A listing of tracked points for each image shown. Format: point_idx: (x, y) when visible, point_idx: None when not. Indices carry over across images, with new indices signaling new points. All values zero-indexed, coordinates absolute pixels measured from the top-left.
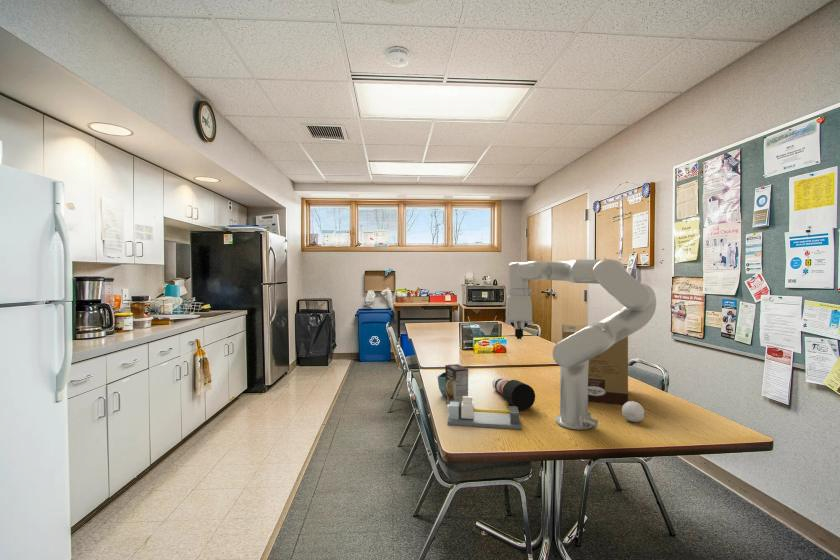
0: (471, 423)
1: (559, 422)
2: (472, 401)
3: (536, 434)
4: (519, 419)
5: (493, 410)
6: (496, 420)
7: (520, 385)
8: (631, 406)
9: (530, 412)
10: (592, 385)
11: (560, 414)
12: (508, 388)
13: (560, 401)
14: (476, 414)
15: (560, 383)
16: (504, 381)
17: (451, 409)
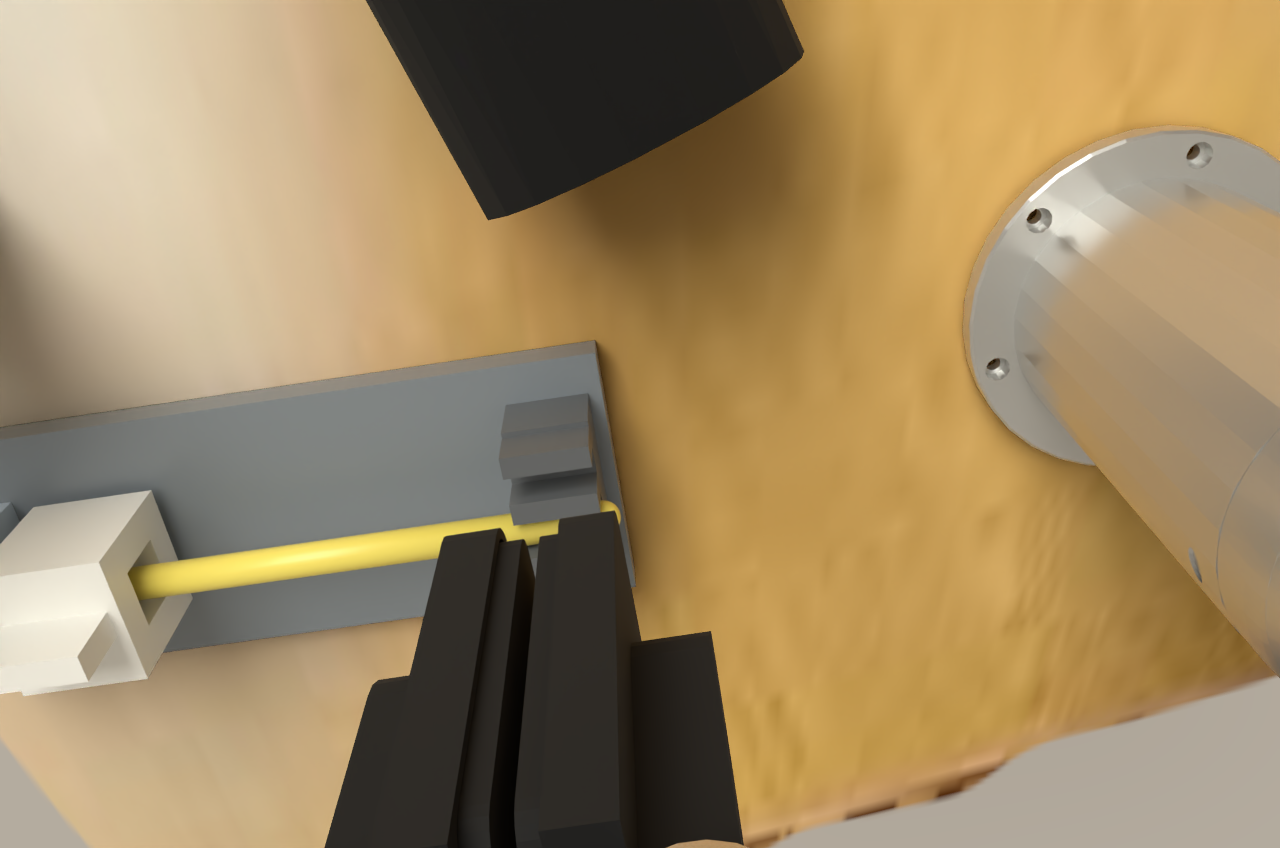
0: (205, 644)
1: (990, 404)
2: (86, 567)
3: (761, 620)
4: (612, 454)
5: (353, 569)
6: None
7: (600, 172)
8: None
9: (714, 117)
10: None
11: (1032, 357)
12: (406, 52)
13: (1088, 419)
14: (174, 455)
15: (1193, 540)
16: None
17: None
